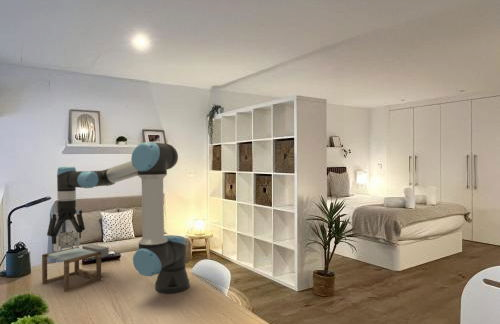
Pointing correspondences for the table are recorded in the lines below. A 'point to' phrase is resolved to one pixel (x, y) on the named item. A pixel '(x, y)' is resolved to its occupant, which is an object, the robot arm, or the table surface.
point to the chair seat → (80, 252)
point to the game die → (66, 240)
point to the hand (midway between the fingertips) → (66, 248)
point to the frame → (80, 272)
